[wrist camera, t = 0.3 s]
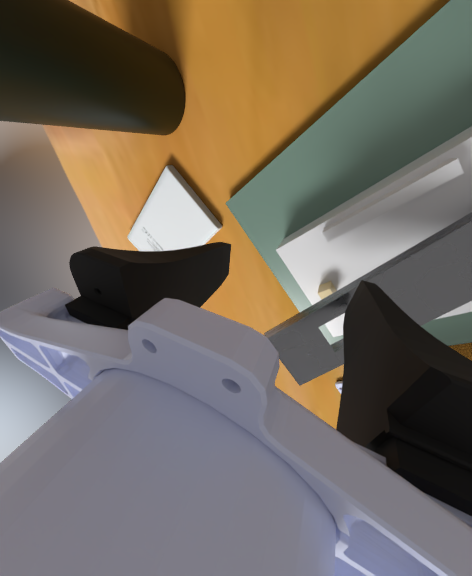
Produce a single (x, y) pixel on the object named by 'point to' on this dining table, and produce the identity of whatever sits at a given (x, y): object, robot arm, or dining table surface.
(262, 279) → the dining table surface
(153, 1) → the dining table surface
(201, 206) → the external hard drive
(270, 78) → the dining table surface
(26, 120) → the wine bottle
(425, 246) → the strap
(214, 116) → the dining table surface
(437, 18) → the green base plate
